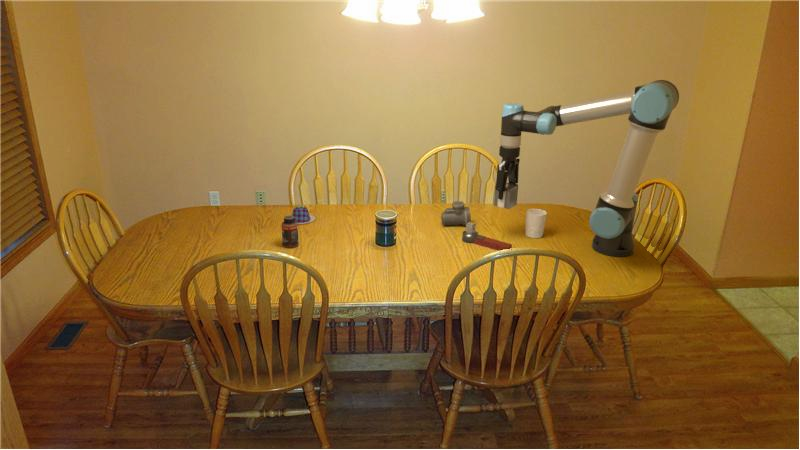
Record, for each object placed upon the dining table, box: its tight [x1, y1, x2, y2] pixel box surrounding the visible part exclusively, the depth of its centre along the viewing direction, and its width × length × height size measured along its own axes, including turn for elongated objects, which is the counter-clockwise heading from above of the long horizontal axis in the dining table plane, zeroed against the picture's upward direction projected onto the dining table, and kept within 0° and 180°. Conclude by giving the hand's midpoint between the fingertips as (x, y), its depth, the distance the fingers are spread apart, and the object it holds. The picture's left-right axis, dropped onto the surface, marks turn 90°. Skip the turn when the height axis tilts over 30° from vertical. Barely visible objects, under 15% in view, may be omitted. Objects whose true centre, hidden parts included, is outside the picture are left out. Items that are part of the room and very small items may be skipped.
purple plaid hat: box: [291, 206, 316, 225], centre depth 244 cm, size 12×12×5 cm
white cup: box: [525, 208, 548, 239], centre depth 232 cm, size 8×8×10 cm
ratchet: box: [461, 221, 513, 251], centre depth 222 cm, size 20×6×7 cm, turn 53°
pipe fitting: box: [440, 200, 472, 227], centre depth 241 cm, size 12×8×10 cm
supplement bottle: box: [281, 214, 300, 249], centre depth 217 cm, size 6×6×11 cm
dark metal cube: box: [493, 182, 519, 210], centre depth 225 cm, size 6×6×8 cm
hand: (505, 204), depth 226 cm, fingers closed on dark metal cube, 6 cm apart
